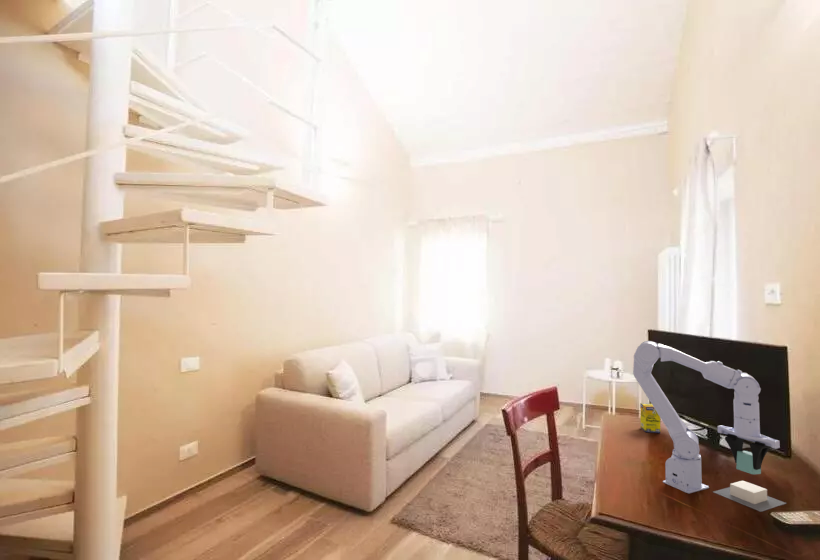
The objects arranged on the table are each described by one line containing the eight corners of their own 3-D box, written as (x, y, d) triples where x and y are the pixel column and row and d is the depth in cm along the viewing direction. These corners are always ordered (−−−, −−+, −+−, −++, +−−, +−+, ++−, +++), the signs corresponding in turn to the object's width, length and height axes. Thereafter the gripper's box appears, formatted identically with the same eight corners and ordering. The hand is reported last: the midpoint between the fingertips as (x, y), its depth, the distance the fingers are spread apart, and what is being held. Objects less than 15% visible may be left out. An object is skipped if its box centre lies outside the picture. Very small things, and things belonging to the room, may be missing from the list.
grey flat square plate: (760, 512, 109) (760, 511, 109) (712, 492, 120) (712, 491, 120) (786, 504, 114) (786, 503, 114) (737, 485, 125) (737, 484, 125)
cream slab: (754, 504, 113) (754, 493, 113) (730, 494, 119) (730, 483, 119) (767, 500, 115) (767, 489, 116) (743, 490, 121) (742, 480, 121)
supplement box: (645, 432, 174) (645, 406, 174) (640, 428, 180) (639, 402, 180) (661, 433, 173) (660, 407, 173) (655, 429, 179) (654, 403, 179)
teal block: (752, 474, 115) (753, 455, 115) (736, 468, 118) (737, 450, 119) (760, 473, 116) (761, 455, 117) (744, 468, 120) (745, 450, 120)
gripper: (785, 422, 113) (787, 473, 112) (727, 409, 126) (728, 454, 126) (770, 425, 110) (771, 477, 109) (712, 411, 123) (713, 458, 123)
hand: (747, 465), depth 117 cm, fingers closed on teal block, 4 cm apart
